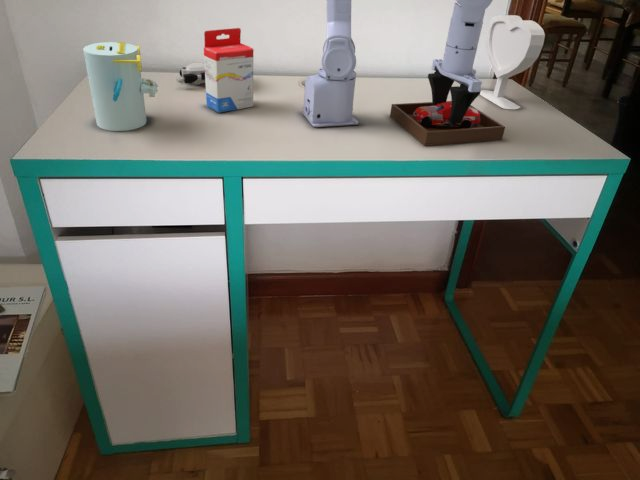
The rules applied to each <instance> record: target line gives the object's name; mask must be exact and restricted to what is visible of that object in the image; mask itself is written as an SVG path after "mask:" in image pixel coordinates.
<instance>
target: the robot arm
mask: <svg viewBox="0 0 640 480" xmlns="http://www.w3.org/2000/svg"><path fill="white" fill-rule="evenodd" d="M492 3H493V0H455V2H454V3H453V4H454V6H453V10H452V14H451V15H452V16H451V17H450V22H449V27H448V31H447V38H446V42H445V47H444V52H443V56H442V57H443V59H441V58H440V59H439V58H438V59H437V58H436V59H432V63H431V64H432V65H431V70H433V71H434V72H433V73H432V72H431V73H428V74H427V79H428V81H429V85H430V89H431V90H430V91H431V102H432V105H433V106H435V105H437V104H438V103H439V104H440V103H444V102H446V101H448V97H449V93H450V99H451V100H450V101H452V105H451V113H450V123H452V124H454V123H461V121H462V119H463V117H464V115H465V113H466V112H467V110H468V108H469V106H470V105H471V106H472V103H473V102H474V101H475V100H476V99H477V98H478V97H479V96H481V95H480V92H481V90H482V89H481V88H482V84H483V81H482V80H480V79H479V78H478V77H477V74H476V73H477V70H476V69H475V68H473V67H474V64H475V59H476V56H477V55H476V54H477V51H478V47H479V43H480V37H481V33H482V29H483V24H484V18H485V13H486V10H487V9H488V8H489V6H491V4H492ZM356 56H357V55H356V44H355V42H354V40H353V38H352V0H326V39H325V41H324V43H323V46H322V56H321V67H320V68H319V69H318V73H316V74H312V75H308V76H306V79H305V82H304V93H303V110H302V113H301V114H302V115H303V116H304V117H305V118H306V119H307V121H308V122H309V124H311V126H312V127H313V128H326V127H338V126H339V127H340V126H356V125H359V124H360V122H359V121H358V119H357V118H355V117H354V116H353V108H354V99H355V89H356V78H357V73H356V71H355V69H356V66H357V57H356ZM455 82H456V83H457V84H459V85H457V86H453V85H454V83H455Z"/></svg>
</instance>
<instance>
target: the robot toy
mask: <svg viewBox="0 0 640 480" xmlns="http://www.w3.org/2000/svg"><path fill="white" fill-rule="evenodd" d="M175 80H176V82H178V83H183V82H184V84H192V85H193V86H199V85H200V84H206V82H205V64H204V62H192V63H188V64H187V65H184V66H182V68H181V69H180V70H179V76H178V77H176V78H175Z"/></svg>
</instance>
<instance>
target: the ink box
mask: <svg viewBox="0 0 640 480" xmlns="http://www.w3.org/2000/svg"><path fill="white" fill-rule="evenodd" d="M241 33H242V30H241V27H233V28H222V29H220V28H219V29H210V30H204V32H203V38H204V47H203V60H204V62H203V63H204V64H205V82H206V83H205V100H206V106H207V107H208V108H210V109H211V110H213V111H215V112H216V113H218V114H220V113H225V112H232V111H236V110H242V109H247V108H252V107H254V48H253V47H251V46H249V45H246V44H244V43H242V42H241V36H242V35H241ZM222 35H224V36H228V37H226V38H217V37H219V36H222Z"/></svg>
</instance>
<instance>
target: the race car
mask: <svg viewBox="0 0 640 480" xmlns="http://www.w3.org/2000/svg"><path fill="white" fill-rule="evenodd" d="M451 105H452V102H444V103H440V104H439V103H438V104H437V105H435V106H423V107H419V108H417V109H416V110H415V111H414V114H413V118H414V119H415V120H416V121H418V122H420V123H421V121H422V124H423V125H424V126H429V125H430V124H431V123H432V125H443V126H455V127H460V125H461V127H462V128H463V129H466V128H469V127H470V126H471V128H472V127H477V126H479V125H480V124H479V123H480V113H479V111H480V110H479V109H478V110H479V111H478V110H476V109H477V108H476V109H474V108H471V107H469V108H468V110H467V112H466V113H465V115H464V117H463V119H462V121H461V123H454V124H452V123H450V113H451Z"/></svg>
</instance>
